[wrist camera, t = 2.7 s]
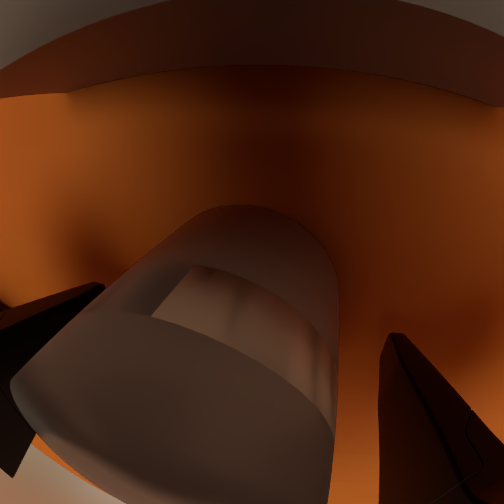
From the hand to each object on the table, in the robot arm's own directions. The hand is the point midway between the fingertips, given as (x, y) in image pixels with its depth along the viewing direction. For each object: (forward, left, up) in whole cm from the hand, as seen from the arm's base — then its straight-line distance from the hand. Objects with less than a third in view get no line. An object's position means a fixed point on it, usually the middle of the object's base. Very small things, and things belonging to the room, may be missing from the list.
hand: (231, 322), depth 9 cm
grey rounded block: (0, 0, -2) cm, 2 cm away
